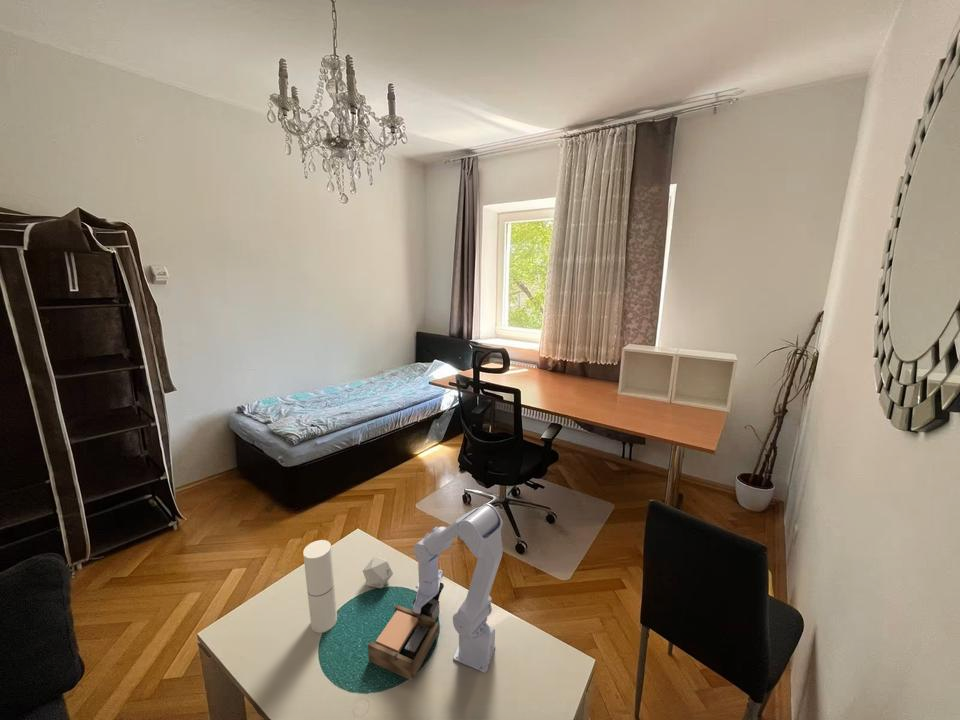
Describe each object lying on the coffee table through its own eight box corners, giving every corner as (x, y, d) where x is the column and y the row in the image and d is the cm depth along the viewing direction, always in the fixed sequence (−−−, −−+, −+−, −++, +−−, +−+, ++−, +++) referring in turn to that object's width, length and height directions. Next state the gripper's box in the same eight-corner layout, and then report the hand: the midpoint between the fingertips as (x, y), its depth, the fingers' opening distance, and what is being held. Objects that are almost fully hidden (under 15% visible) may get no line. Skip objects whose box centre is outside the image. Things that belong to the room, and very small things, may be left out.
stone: (439, 613, 114) (439, 601, 112) (432, 625, 109) (432, 613, 108) (426, 608, 115) (426, 596, 114) (419, 620, 111) (418, 608, 110)
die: (368, 599, 119) (386, 577, 117) (352, 576, 122) (370, 554, 121) (385, 589, 126) (402, 568, 125) (369, 567, 130) (386, 546, 129)
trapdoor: (430, 630, 105) (430, 623, 104) (411, 664, 96) (411, 656, 95) (397, 617, 109) (397, 610, 108) (376, 648, 100) (375, 640, 99)
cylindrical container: (305, 629, 108) (297, 555, 102) (321, 608, 114) (314, 538, 109) (327, 635, 106) (320, 560, 100) (342, 613, 113) (336, 542, 107)
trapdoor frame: (439, 635, 106) (438, 619, 105) (414, 682, 94) (413, 664, 93) (397, 619, 111) (396, 603, 110) (368, 661, 99) (367, 644, 98)
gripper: (428, 554, 117) (429, 590, 120) (403, 589, 104) (404, 629, 107) (448, 560, 114) (449, 597, 117) (425, 597, 101) (426, 638, 104)
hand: (429, 613), depth 112 cm, fingers closed on stone, 4 cm apart
